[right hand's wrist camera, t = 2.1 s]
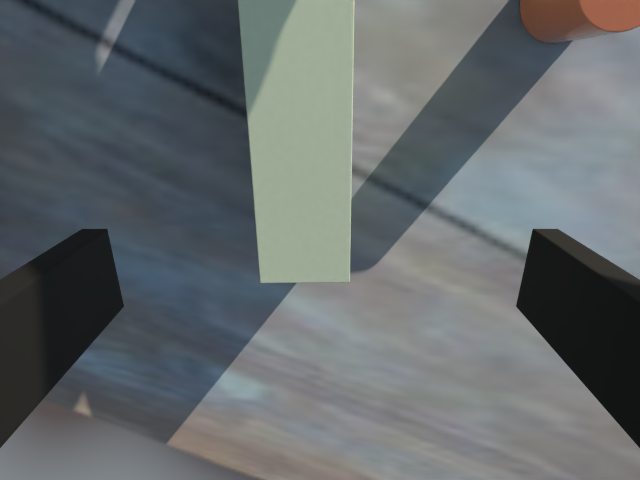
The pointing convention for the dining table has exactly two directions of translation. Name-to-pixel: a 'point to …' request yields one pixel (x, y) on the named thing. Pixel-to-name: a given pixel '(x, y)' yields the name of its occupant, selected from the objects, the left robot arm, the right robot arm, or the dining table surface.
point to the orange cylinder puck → (578, 18)
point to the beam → (300, 135)
